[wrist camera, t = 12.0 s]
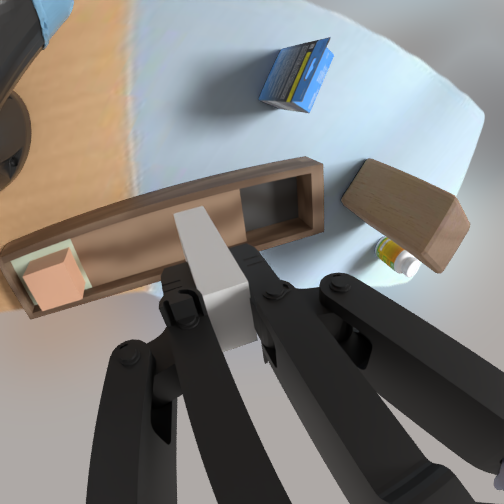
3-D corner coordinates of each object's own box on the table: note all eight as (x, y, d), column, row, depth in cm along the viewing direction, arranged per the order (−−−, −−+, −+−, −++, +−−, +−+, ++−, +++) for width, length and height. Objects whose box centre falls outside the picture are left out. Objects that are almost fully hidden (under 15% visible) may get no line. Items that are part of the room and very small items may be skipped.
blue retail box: (280, 110, 39) (329, 118, 29) (256, 99, 37) (300, 103, 27) (302, 59, 36) (356, 53, 26) (280, 47, 34) (330, 35, 24)
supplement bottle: (370, 250, 59) (400, 274, 52) (385, 230, 58) (417, 252, 51) (380, 260, 62) (409, 284, 55) (395, 242, 61) (424, 263, 54)
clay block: (30, 261, 33) (22, 276, 30) (69, 247, 34) (63, 262, 31) (47, 294, 36) (42, 311, 33) (85, 282, 38) (82, 299, 34)
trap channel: (7, 243, 33) (-4, 259, 29) (305, 156, 44) (323, 163, 40) (37, 299, 39) (30, 319, 35) (308, 219, 50) (324, 231, 46)
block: (367, 223, 55) (441, 277, 39) (337, 200, 50) (420, 256, 34) (393, 182, 53) (473, 225, 37) (366, 154, 48) (458, 194, 31)
